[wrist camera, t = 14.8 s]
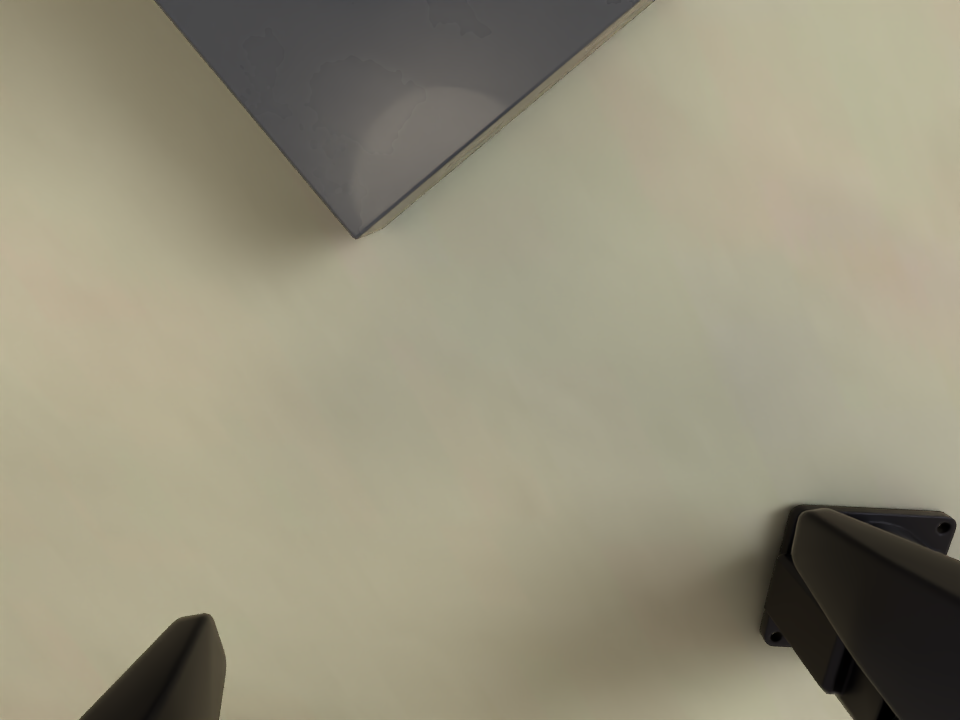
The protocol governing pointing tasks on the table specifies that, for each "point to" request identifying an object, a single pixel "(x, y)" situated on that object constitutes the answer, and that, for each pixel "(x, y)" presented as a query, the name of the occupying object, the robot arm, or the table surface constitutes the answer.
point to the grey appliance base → (389, 81)
